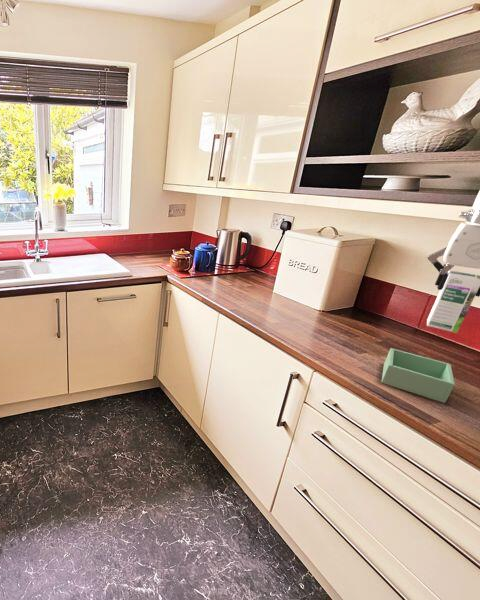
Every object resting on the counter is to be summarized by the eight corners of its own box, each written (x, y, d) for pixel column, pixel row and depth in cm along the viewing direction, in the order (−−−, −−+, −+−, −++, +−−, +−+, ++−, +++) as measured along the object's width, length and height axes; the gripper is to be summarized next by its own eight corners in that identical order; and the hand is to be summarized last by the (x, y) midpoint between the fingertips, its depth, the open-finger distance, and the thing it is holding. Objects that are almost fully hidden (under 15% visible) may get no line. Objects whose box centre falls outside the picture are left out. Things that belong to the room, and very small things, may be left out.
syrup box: (425, 326, 88) (449, 273, 83) (426, 319, 92) (449, 268, 86) (456, 333, 84) (483, 279, 79) (456, 326, 88) (482, 273, 83)
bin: (441, 381, 94) (450, 364, 92) (445, 403, 86) (454, 384, 84) (383, 364, 102) (390, 347, 100) (381, 382, 94) (388, 365, 91)
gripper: (439, 216, 80) (411, 287, 87) (556, 225, 70) (513, 305, 76) (438, 213, 85) (411, 280, 92) (546, 221, 75) (506, 296, 82)
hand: (457, 291), depth 84 cm, fingers closed on syrup box, 5 cm apart
